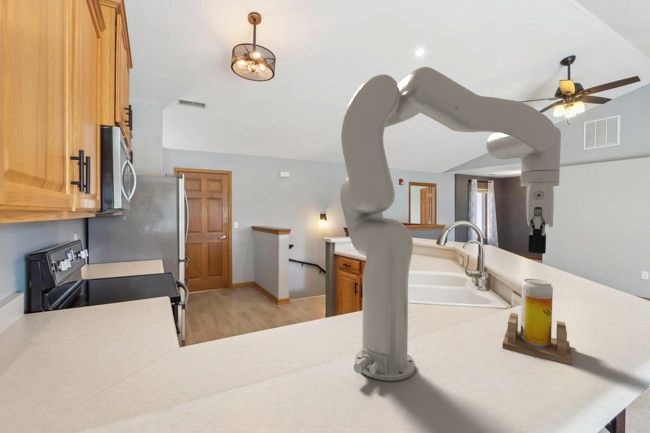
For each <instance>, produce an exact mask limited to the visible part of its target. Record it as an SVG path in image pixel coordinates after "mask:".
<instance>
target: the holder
mask: <svg viewBox="0 0 650 433" xmlns="http://www.w3.org/2000/svg"><path fill="white" fill-rule="evenodd" d="M508 317H509V318H508V321H507V329H506V331H505V335H504V338H503V341H502V346H501V348H502V349H506V350H509V351H513V352H518V353H521V354H525V355H529V356H532V357H533V356H534V357H537V358H543V359H546V360H550V361H554V362H558V363H563V364H566V365H570V366H572V365H573V358H572V352H571V347H570V341H568V331H567V326H566V322H565V321H561V320H560V321H559V320H556V334H555V336H556V338H554V337H551V344H549V345H548V346H547V347H537V346H533V345H530V344H527V343H525V342H524V341H523V339H522V338H521V330H519V314H518V313H515V312H510V315H509V316H508Z"/></svg>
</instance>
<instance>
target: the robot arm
mask: <svg viewBox="0 0 650 433" xmlns="http://www.w3.org/2000/svg"><path fill="white" fill-rule="evenodd" d="M418 114H421V115H424V116H426V117H428V118H430V119H432V120H434V121H436V122H438V123H439V124H441V125H443V126H444V127H446V128H448V129H450V130H451V131H454V132H461V133H478V132H479V133H483V132H485V133H486V132H487V133H488V132H489V133H490V132H491V134H490V135H489V137H488V138H487V140H486V150H487V152H488V154H489V155H490V156H492V157H494V158H495V159H499V160H511V159H520V160H521V165H520V166H521V168H520V171H521V173H520V187H522V188H526V191H525V193H526V196H525V197H526V199H525V201H526V202H525V209H526V210H525V212H526V223H527V226H528V227H529V228H530V230H529V235H528V246H527V248H528V252H529V253H530V254H542V255H543V254H544V255H545V254H546V252H547V251H546V249H547V248H546V247H547V234H546V225H548V227H549V228H552V227H554V207H555V200H554V199H555V193H554V192H555V191H554V187H558V186H560V176H561V175H560V172H561V171H560V170H561V168H560V167H561V143H562V142H561V141H562V134H561V133H562V132H561V129H560V128H559V127H557V126H555V124H554V122H553V121H552V120H551V119H550V118H549V117H548V116H547V115H545V114H544V113H543V112H541V111H539V110H537V109H536V108H534V107H532V106H531V105H529V104H527V103H524V102H521V101H518V100H514V99H506V98H499V97H492V96H484V95H480V94H477V93H475V92H473V91H471V90H470V89H468V88H466V87H465V86H463V85H462V84H459V83H458V82H456V81H455V80H453V79H451V78H450V77H448V76H446V75H445V74H443V73H441V72H440V71H438V70H436V69H434V68H432V67H430V66H429V67H428V66H422V67H418V68H416V69H414V70H413V71H412V72H409V74H407V76H405V77H404V78H403V79H402V80H401V81H400V82H399V83H398V82H397V81H396V79H395V78H394V77H392V76H390V75H388V74H383V73H382V74H377V75H375V76H373V77H371V78H369V79H368V80H366V81H365V82H363V84H362V85H361V86H360V87H359V88H358V90H357V91H356V92H355V93H354V95H353V97H351V100H350V102H348V104H347V106H346V110H345V114H344V116H343V121H342V125H341V126H342V127H341V136H340V137H341V138H340V139H341V149H342V154H343V159H344V163H345V168H346V172H347V173H346V174H347V178H346V179H345V180H344V182H343V183H342V185H341V186H340V187H341V188H340V190H339V191H340V193H339V195H340V196H339V199H340V200H339V201H340V205H341V209H342V213H343V216H344V221H345V223H346V227H347V232H348V236H349V239H350V241H351V244H352V246H353V247H354V250H356V251H357V252H358V254H359V253H360V255H362V256H364V257H365V258H366V259H365V264H364V269H363V273H362V274H363V277H362V349H361V350H359V351H358V352H357V353H356V354H355V358H354V361H355V362H354V364H353V369H354V372H355V373H357V374H364V375H366V376H367V377H369V378H372V379H375V380H378V381H386V382H397V381H402V380H405V379H407V378H409V377H411V376H412V375H413V374H414V373H415V370H416V363H415V360H414V358H412V356H411V355H410V354H408V345H409V344H408V343H409V342H408V340H409V338H408V333H409V332H408V331H409V329H408V327H409V326H408V325H409V324H408V323H409V322H408V321H409V316H408V315H409V274H410V273H409V272H410V266H411V260H412V256H413V250H414V242H413V237H412V233H411V232H410V230H409V229H408V228H407V226H406V225H405V224H403V223H402V222H401V221H399V220H397V219H393V218H384V214H383V213H384V212H386V211H387V210H390V207H391V206H392V205H393V203H394V201H395V196H396V195H395V192H396V191H395V186H394V183H393V179H392V175H391V172H390V168H389V164H388V159H387V155H386V150H385V145H384V134H385V133H384V132H385V129H386V128H387V127H391V126H394V125H397V124H399V123H402V122H405V121H407V120H410V119H412V118H414V117H415V116H417V115H418Z"/></svg>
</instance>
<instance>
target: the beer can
mask: <svg viewBox="0 0 650 433" xmlns="http://www.w3.org/2000/svg"><path fill="white" fill-rule="evenodd" d="M553 290H554V288H553V286H552V283H551V282H550V281H548V280H542V279H537V278H525V279H523V282H522V283H521V304H520V306H521V307H520V309H521V310H520V312H521V314H520V331H521V338H522V339H523V341H524V342H525V343H527V344H530V345H533V346H537V347H547V346H548V345H549V344H551V338H552V330H553V329H552V328H553V327H552V324H553V322H552V321H553V320H552V319H553V296H554V294H553V292H554V291H553Z"/></svg>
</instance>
